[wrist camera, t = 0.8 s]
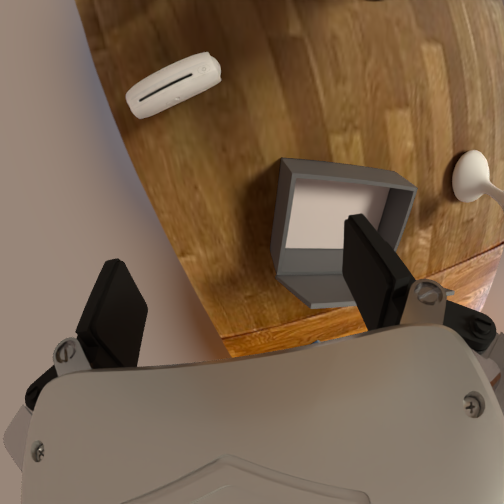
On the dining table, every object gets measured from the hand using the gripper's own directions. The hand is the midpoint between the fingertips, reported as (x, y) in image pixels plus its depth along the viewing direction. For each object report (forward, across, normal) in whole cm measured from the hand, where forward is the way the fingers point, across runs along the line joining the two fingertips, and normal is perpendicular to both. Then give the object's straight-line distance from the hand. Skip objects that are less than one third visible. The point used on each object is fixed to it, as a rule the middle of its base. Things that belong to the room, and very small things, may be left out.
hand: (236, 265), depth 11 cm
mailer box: (+30, -15, +16) cm, 37 cm away
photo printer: (+31, +4, -7) cm, 32 cm away
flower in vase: (+31, -45, +12) cm, 56 cm away
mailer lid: (+16, -14, +20) cm, 29 cm away
